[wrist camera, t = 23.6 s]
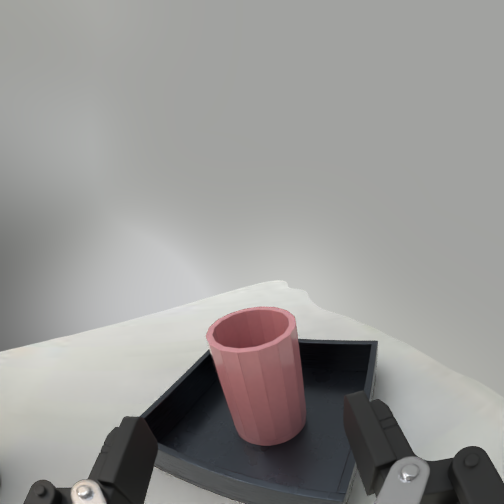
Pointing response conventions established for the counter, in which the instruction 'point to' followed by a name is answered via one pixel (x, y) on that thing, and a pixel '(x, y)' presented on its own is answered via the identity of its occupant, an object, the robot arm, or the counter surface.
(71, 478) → the counter surface
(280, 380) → the cup
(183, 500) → the counter surface
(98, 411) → the counter surface
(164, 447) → the dark grey storage tray
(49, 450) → the counter surface
